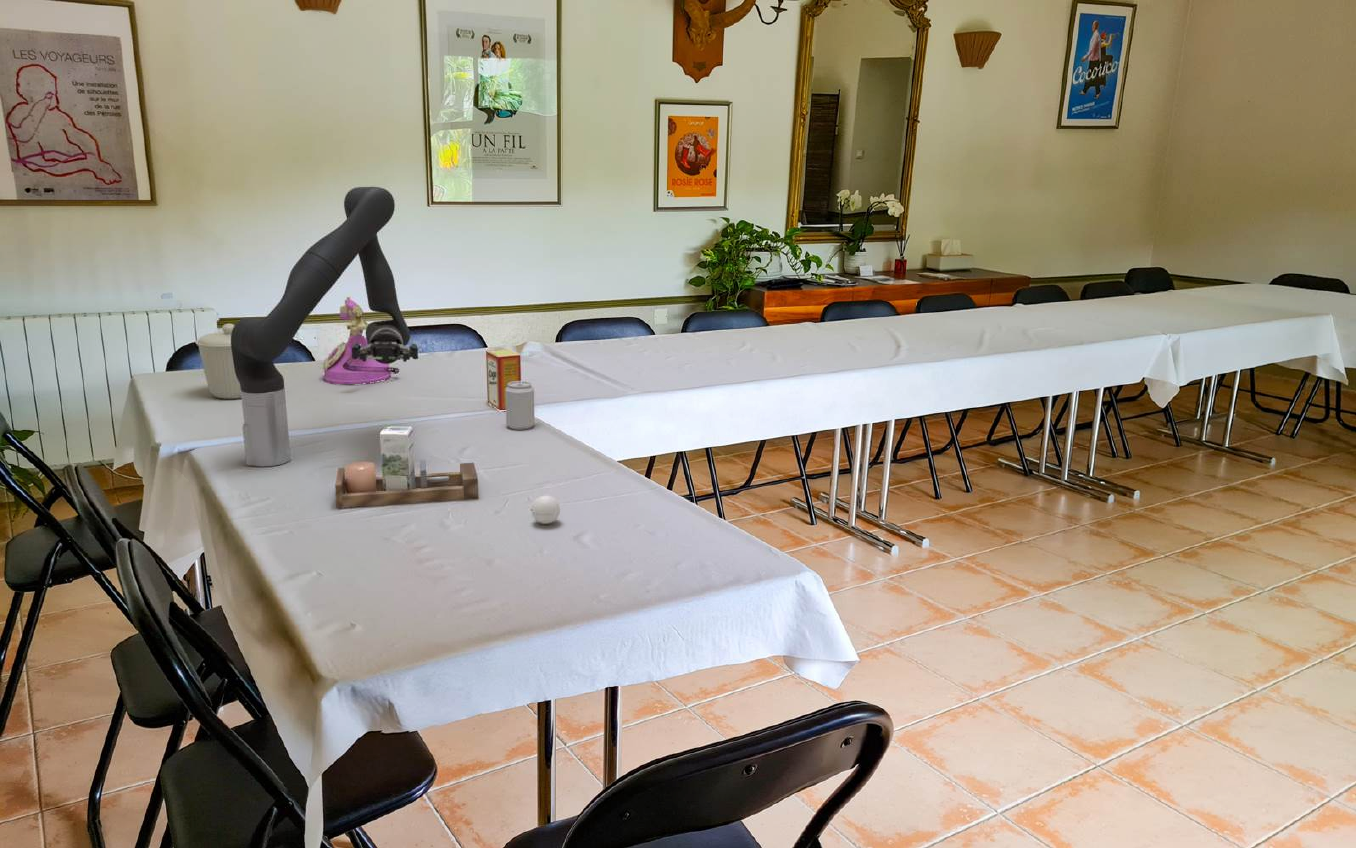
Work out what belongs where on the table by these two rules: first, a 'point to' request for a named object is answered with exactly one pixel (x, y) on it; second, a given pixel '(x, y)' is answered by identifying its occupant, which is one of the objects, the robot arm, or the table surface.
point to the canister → (219, 363)
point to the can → (519, 405)
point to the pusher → (428, 479)
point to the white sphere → (545, 509)
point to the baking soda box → (501, 375)
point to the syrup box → (397, 458)
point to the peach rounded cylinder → (360, 477)
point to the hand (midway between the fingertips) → (384, 357)
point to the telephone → (340, 359)
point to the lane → (413, 490)
